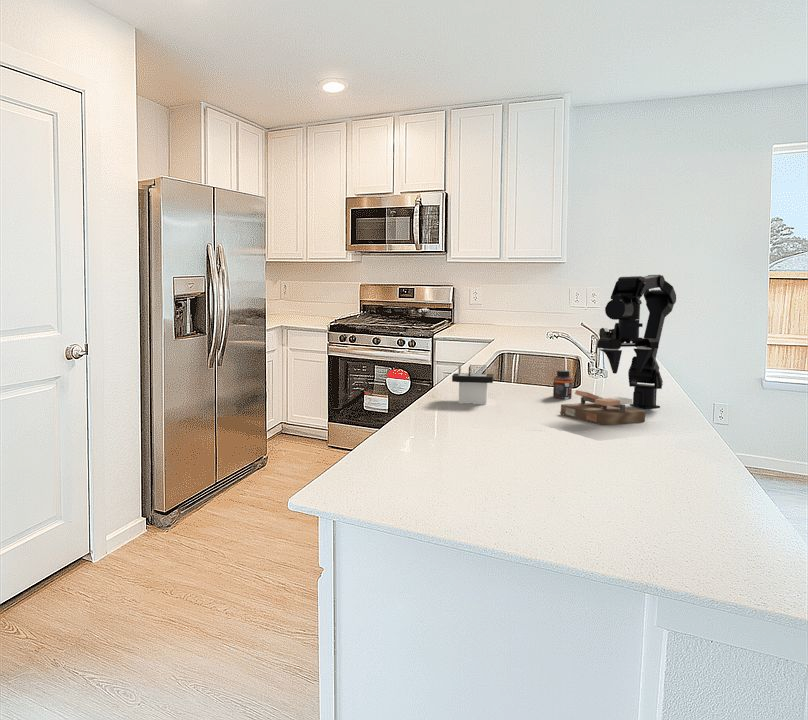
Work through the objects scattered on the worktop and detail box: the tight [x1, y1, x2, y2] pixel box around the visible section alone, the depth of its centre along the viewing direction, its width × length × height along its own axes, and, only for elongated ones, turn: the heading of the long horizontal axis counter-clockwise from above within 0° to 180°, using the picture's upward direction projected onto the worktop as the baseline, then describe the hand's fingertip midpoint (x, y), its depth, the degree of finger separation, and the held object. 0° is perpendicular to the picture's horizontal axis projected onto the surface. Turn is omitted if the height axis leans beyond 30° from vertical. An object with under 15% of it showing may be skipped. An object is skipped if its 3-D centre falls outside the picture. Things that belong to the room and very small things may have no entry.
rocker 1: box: [574, 390, 604, 403], centre depth 175 cm, size 9×6×2 cm, turn 114°
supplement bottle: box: [552, 369, 573, 400], centre depth 196 cm, size 6×6×11 cm
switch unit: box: [560, 396, 646, 426], centre depth 171 cm, size 15×18×5 cm
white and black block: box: [451, 364, 494, 405], centre depth 190 cm, size 28×26×13 cm
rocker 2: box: [595, 396, 633, 408], centre depth 167 cm, size 9×6×2 cm, turn 114°
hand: (626, 373), depth 172 cm, fingers open, 9 cm apart
